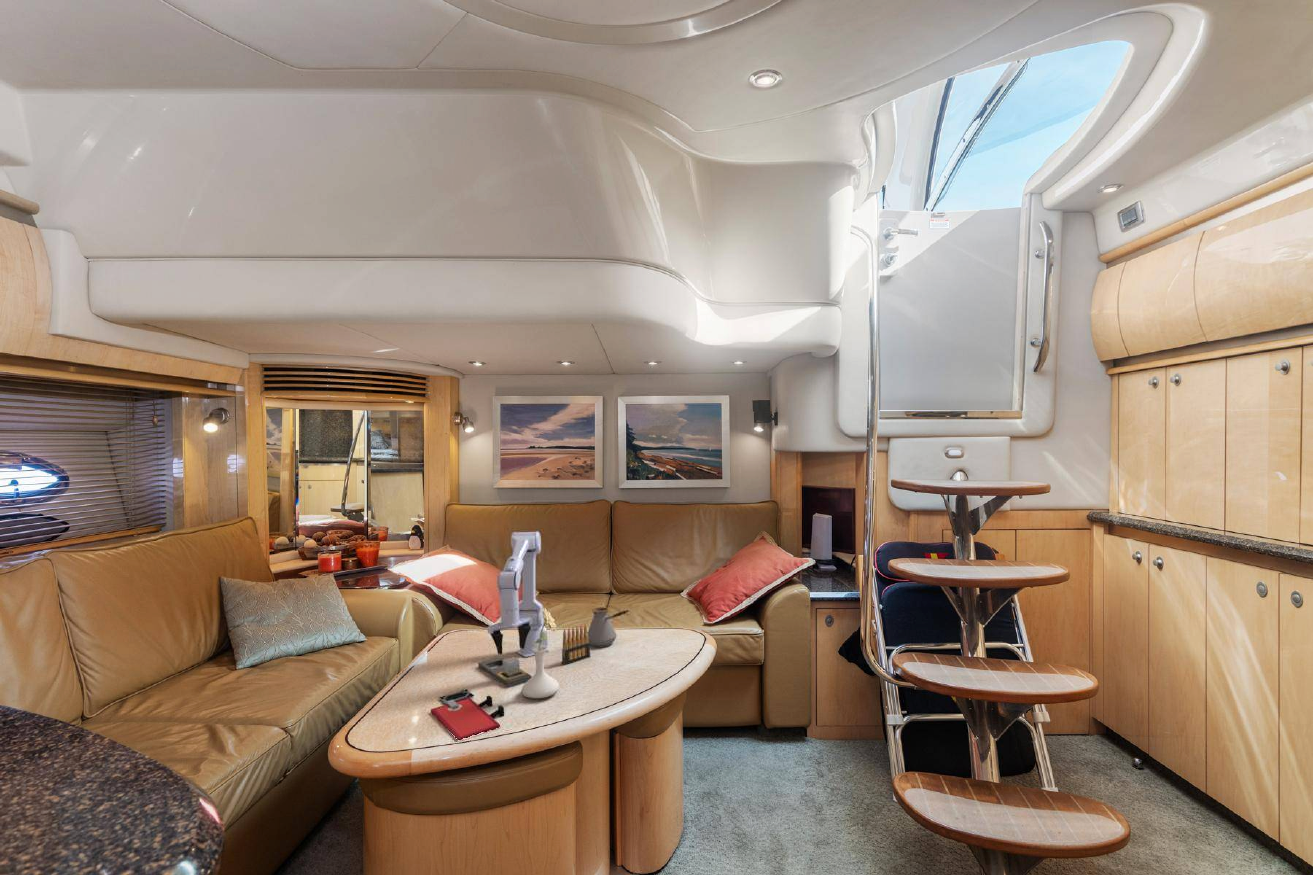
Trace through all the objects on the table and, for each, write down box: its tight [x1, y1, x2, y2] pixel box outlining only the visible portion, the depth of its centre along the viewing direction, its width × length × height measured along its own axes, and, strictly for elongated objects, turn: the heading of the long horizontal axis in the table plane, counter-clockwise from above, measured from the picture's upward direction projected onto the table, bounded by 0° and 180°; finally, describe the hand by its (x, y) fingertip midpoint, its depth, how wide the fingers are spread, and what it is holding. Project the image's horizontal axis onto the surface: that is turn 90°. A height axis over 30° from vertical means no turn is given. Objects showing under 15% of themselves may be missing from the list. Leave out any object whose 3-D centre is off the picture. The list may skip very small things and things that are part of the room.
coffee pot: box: [587, 606, 632, 648], centre depth 223 cm, size 21×12×15 cm, turn 47°
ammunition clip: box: [561, 622, 591, 666], centre depth 209 cm, size 11×2×12 cm, turn 133°
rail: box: [477, 656, 533, 689], centre depth 199 cm, size 8×24×2 cm, turn 38°
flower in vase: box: [521, 607, 561, 699], centre depth 182 cm, size 13×11×25 cm
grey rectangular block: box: [502, 656, 521, 678], centre depth 194 cm, size 4×4×6 cm
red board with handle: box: [430, 689, 505, 741], centre depth 170 cm, size 30×3×15 cm
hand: (511, 650), depth 194 cm, fingers open, 7 cm apart
